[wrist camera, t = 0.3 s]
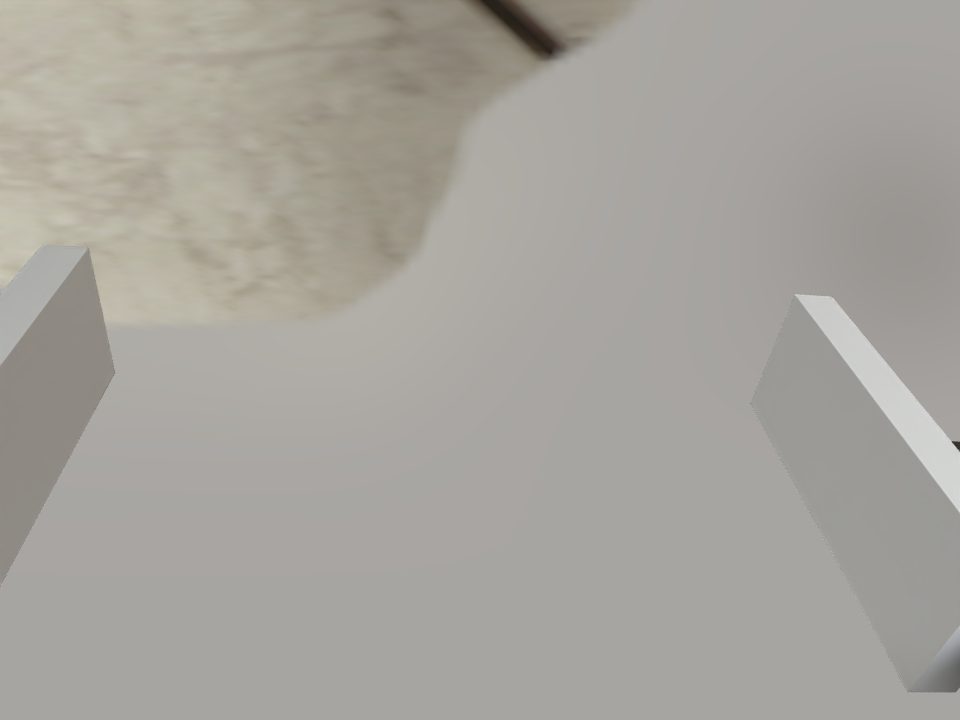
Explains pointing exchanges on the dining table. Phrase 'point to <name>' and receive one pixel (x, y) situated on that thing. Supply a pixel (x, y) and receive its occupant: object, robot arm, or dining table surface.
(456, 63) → the dining table surface
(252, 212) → the dining table surface
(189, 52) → the dining table surface
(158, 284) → the dining table surface
